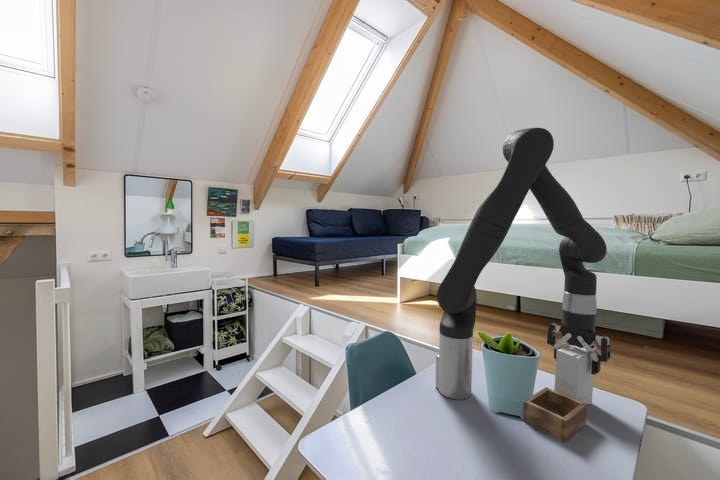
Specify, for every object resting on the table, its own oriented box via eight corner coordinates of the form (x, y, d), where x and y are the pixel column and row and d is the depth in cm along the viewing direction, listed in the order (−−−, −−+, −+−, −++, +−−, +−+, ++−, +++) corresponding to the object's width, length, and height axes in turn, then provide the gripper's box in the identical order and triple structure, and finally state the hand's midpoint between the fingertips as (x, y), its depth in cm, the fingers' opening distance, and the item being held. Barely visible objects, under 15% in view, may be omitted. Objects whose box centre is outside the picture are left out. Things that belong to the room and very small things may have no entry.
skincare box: (570, 393, 90) (572, 342, 89) (593, 404, 85) (596, 350, 84) (552, 400, 86) (555, 348, 85) (575, 412, 81) (578, 356, 80)
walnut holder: (522, 420, 78) (523, 401, 77) (545, 405, 84) (546, 387, 84) (565, 442, 70) (566, 421, 69) (586, 424, 76) (587, 404, 76)
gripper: (544, 305, 88) (541, 361, 89) (605, 318, 76) (602, 382, 77) (556, 301, 92) (554, 354, 93) (616, 313, 80) (613, 374, 81)
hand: (575, 367), depth 85 cm, fingers open, 8 cm apart
